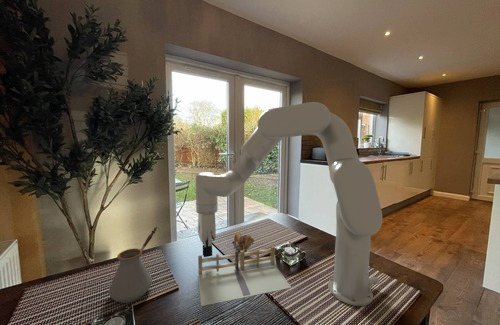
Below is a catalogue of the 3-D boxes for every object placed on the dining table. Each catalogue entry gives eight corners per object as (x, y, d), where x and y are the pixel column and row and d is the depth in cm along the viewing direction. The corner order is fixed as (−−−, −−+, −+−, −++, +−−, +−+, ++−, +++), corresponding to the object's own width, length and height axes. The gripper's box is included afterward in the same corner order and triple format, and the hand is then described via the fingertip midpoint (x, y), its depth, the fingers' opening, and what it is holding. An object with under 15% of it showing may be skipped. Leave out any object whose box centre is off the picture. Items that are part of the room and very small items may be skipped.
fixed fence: (273, 262, 82) (273, 246, 81) (274, 264, 81) (274, 247, 80) (239, 268, 78) (239, 250, 78) (240, 269, 77) (240, 252, 77)
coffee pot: (137, 310, 59) (135, 258, 58) (99, 306, 61) (95, 255, 59) (173, 265, 80) (172, 227, 79) (144, 263, 82) (142, 225, 80)
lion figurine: (256, 256, 87) (256, 235, 86) (245, 260, 84) (245, 238, 83) (237, 242, 99) (237, 223, 98) (226, 245, 96) (226, 226, 95)
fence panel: (238, 267, 78) (238, 250, 77) (238, 268, 77) (238, 251, 76) (198, 273, 74) (198, 255, 74) (198, 275, 73) (198, 257, 72)
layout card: (270, 259, 85) (270, 257, 85) (291, 288, 68) (291, 287, 68) (197, 270, 77) (197, 268, 77) (201, 307, 60) (201, 305, 60)
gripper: (193, 202, 83) (194, 248, 85) (199, 215, 69) (200, 269, 71) (212, 200, 86) (213, 244, 87) (222, 212, 72) (222, 264, 74)
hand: (207, 255), depth 79 cm, fingers closed
